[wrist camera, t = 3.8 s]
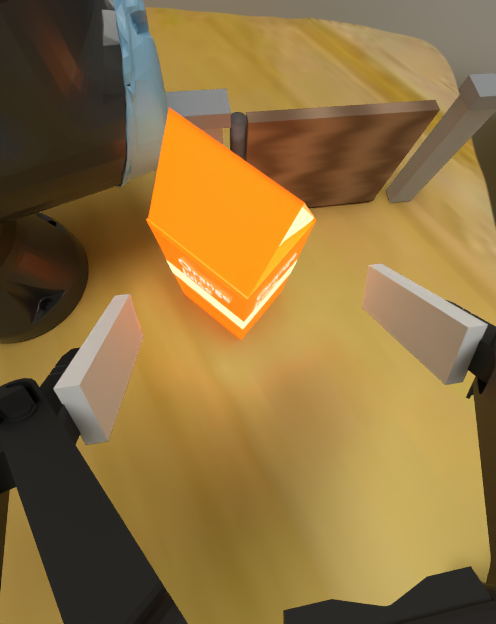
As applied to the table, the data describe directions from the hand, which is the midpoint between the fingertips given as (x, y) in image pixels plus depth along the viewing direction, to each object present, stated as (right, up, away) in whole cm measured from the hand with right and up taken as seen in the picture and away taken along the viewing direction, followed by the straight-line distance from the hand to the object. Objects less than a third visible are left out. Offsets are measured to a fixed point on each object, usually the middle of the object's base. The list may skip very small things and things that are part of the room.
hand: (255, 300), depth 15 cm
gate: (+7, +14, +21) cm, 26 cm away
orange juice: (-2, +2, +17) cm, 18 cm away
